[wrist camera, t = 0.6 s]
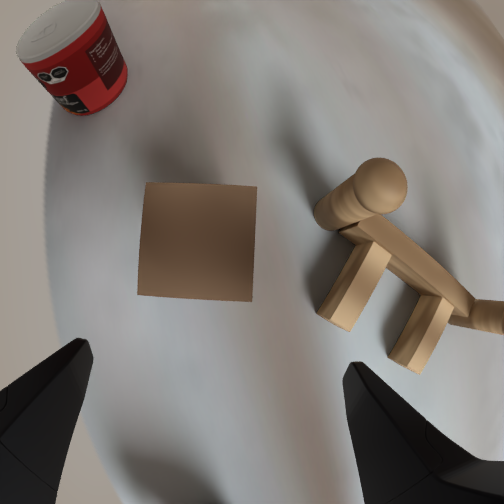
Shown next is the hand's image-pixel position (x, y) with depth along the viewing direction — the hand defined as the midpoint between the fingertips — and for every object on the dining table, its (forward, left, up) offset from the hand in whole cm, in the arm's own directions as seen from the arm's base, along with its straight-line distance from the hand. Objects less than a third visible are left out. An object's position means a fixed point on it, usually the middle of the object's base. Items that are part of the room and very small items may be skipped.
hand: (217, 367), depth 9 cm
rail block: (+2, +4, -15) cm, 16 cm away
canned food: (+4, +26, -15) cm, 30 cm away
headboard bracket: (+12, -10, -15) cm, 21 cm away
